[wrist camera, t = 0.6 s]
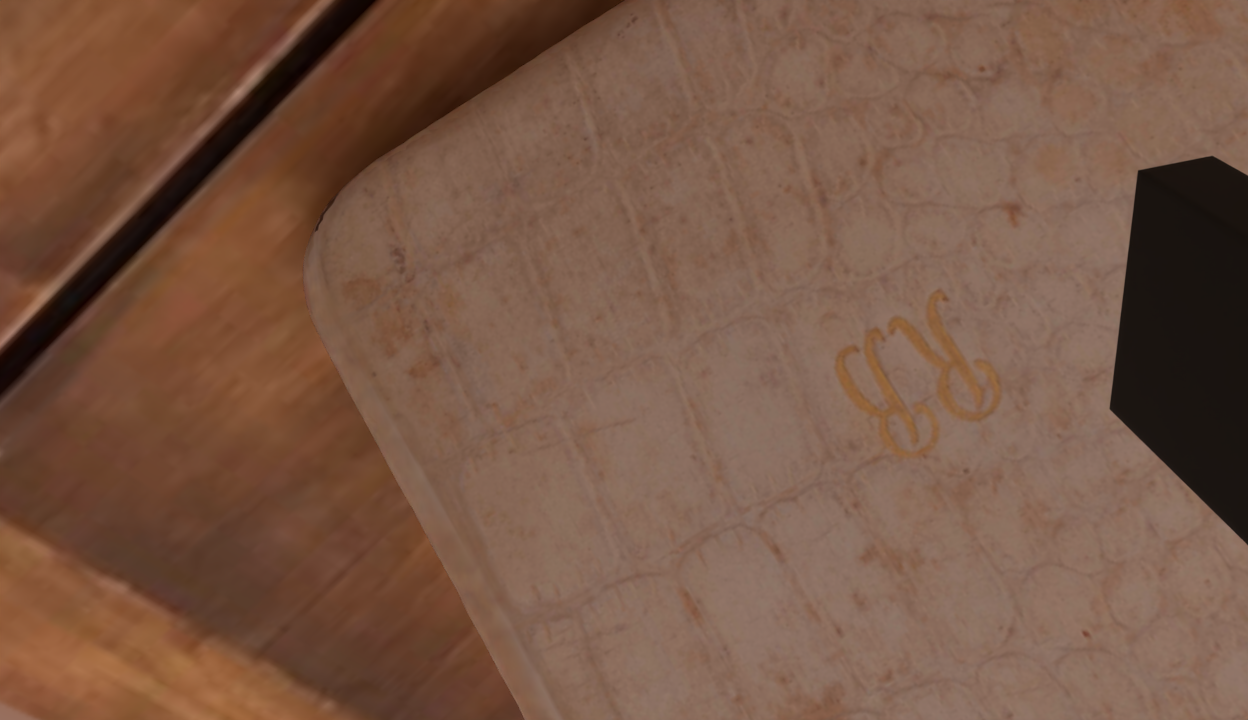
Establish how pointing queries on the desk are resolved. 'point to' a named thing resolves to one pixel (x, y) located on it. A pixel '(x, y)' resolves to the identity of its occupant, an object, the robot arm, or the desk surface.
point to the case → (801, 361)
